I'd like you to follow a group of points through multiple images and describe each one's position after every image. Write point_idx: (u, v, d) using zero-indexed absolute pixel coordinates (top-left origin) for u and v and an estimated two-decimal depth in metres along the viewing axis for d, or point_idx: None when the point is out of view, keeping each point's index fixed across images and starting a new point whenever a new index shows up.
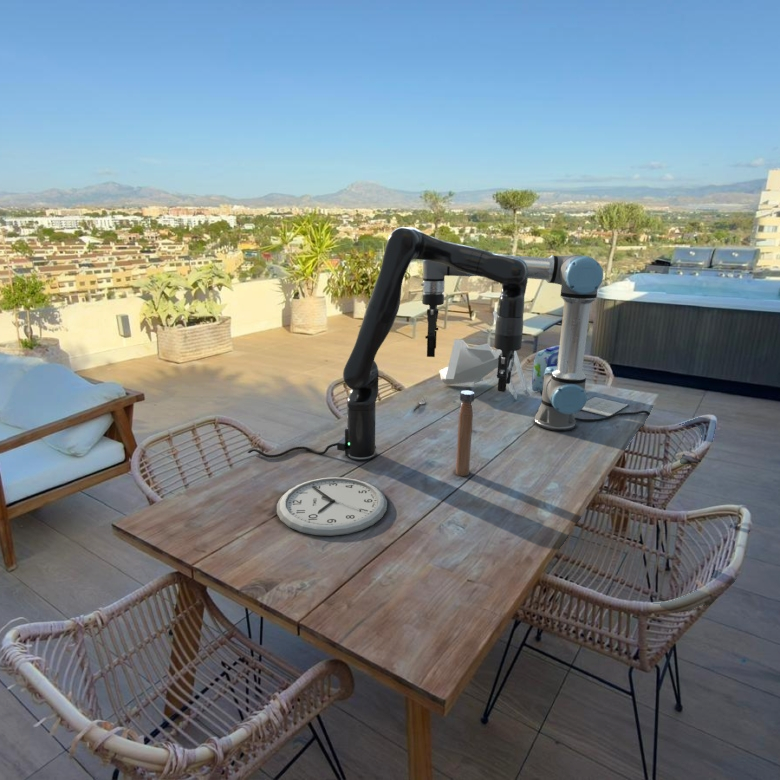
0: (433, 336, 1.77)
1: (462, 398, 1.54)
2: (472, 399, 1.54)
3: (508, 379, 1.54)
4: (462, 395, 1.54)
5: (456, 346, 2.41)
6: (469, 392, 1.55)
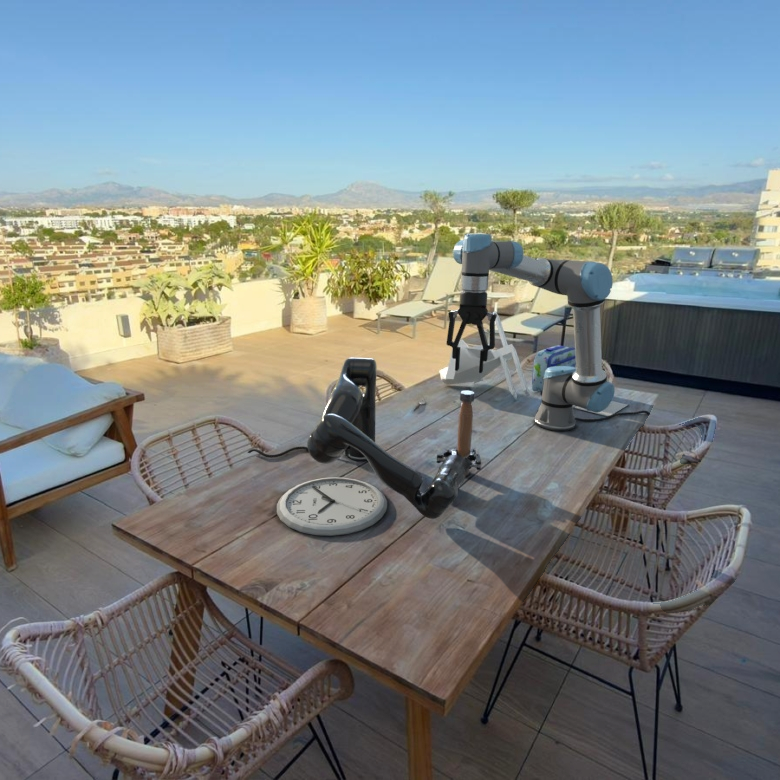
0: (447, 343, 1.52)
1: (462, 398, 1.54)
2: (472, 399, 1.54)
3: None
4: (462, 395, 1.54)
5: None
6: (469, 392, 1.55)
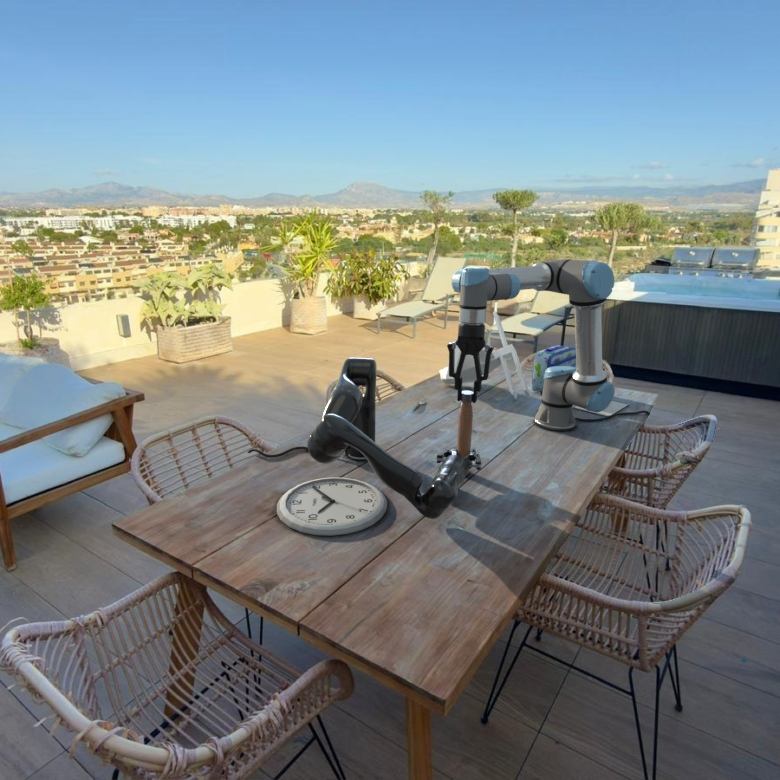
0: (449, 374, 1.54)
1: (462, 398, 1.54)
2: (472, 399, 1.54)
3: None
4: (462, 395, 1.54)
5: (456, 346, 2.41)
6: (469, 392, 1.55)
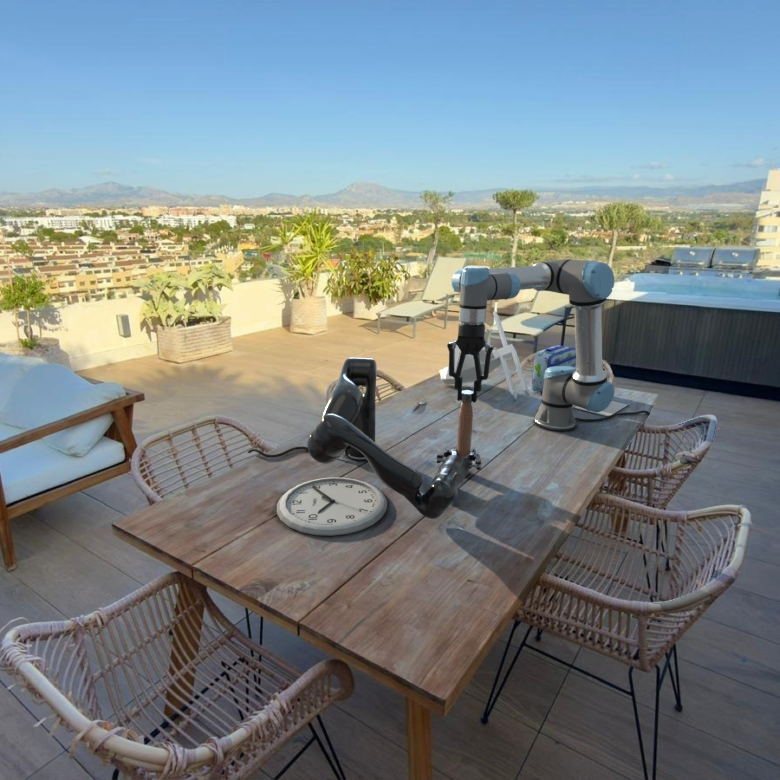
0: (449, 374, 1.54)
1: None
2: None
3: None
4: None
5: (456, 346, 2.41)
6: (466, 391, 1.56)
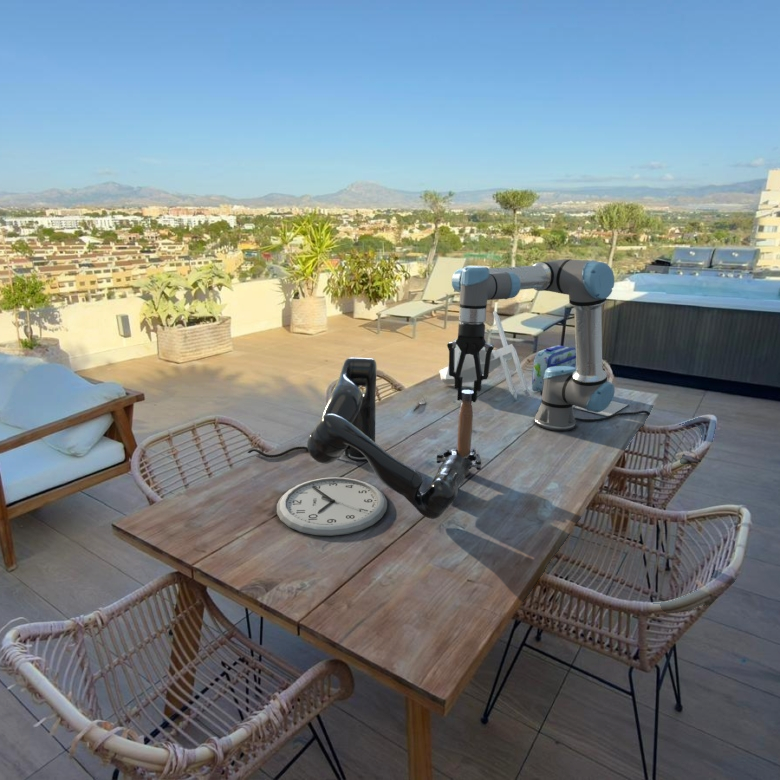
0: (449, 373, 1.54)
1: None
2: (460, 397, 1.56)
3: None
4: None
5: (456, 346, 2.41)
6: (466, 392, 1.55)
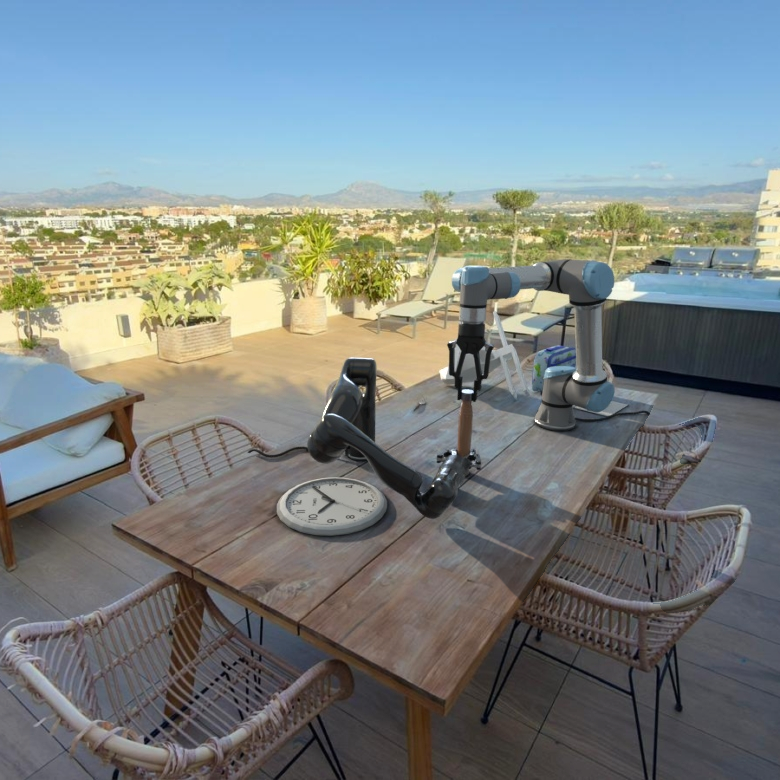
0: (449, 373, 1.54)
1: (461, 396, 1.55)
2: (470, 398, 1.54)
3: None
4: (461, 393, 1.55)
5: (456, 346, 2.41)
6: (469, 391, 1.55)
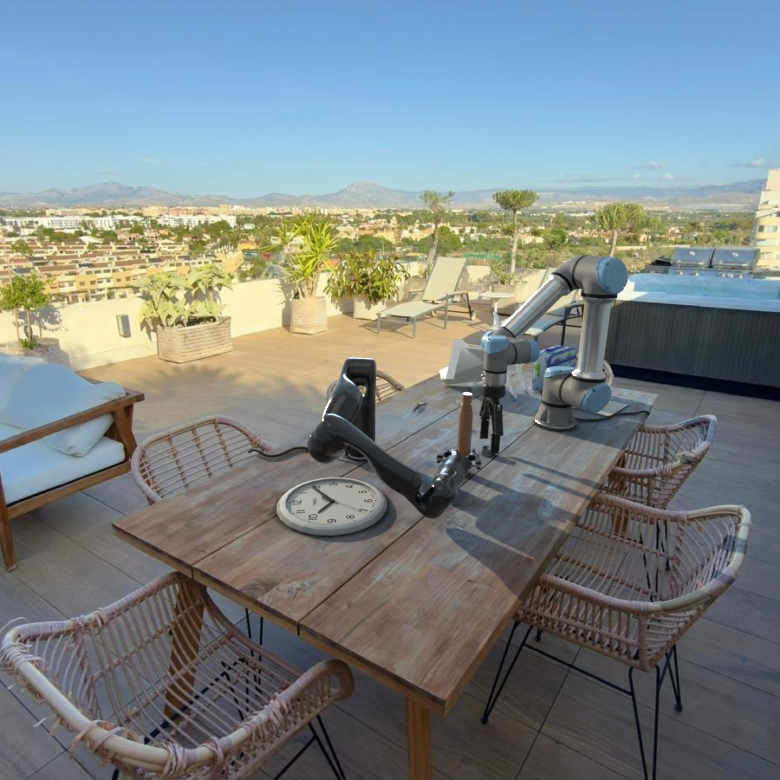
0: (502, 434, 1.64)
1: None
2: None
3: None
4: None
5: (456, 346, 2.41)
6: (488, 447, 1.76)
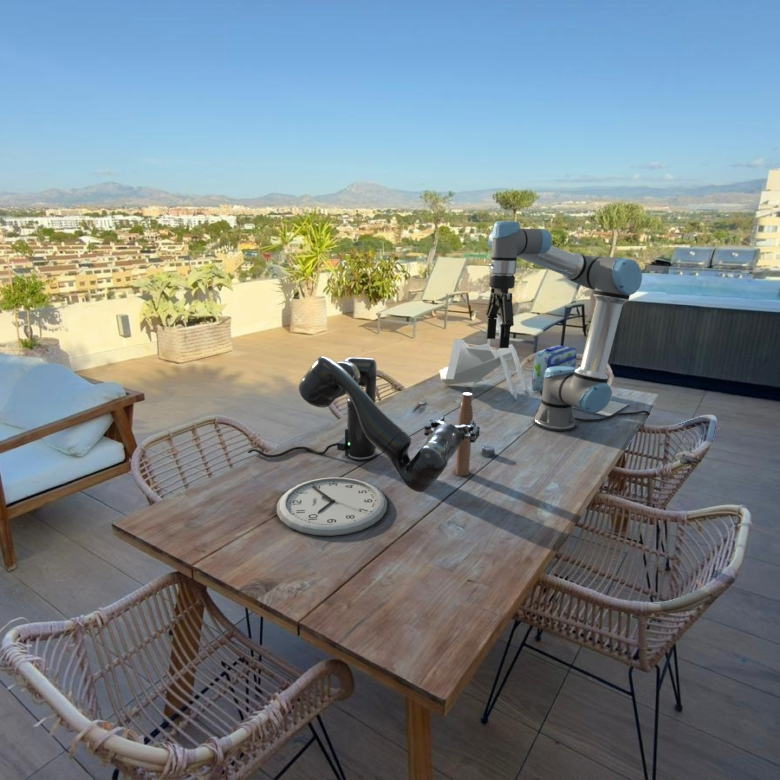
0: (512, 324, 1.53)
1: (492, 453, 1.75)
2: None
3: (443, 419, 1.47)
4: (492, 451, 1.75)
5: (456, 346, 2.41)
6: (488, 447, 1.76)
